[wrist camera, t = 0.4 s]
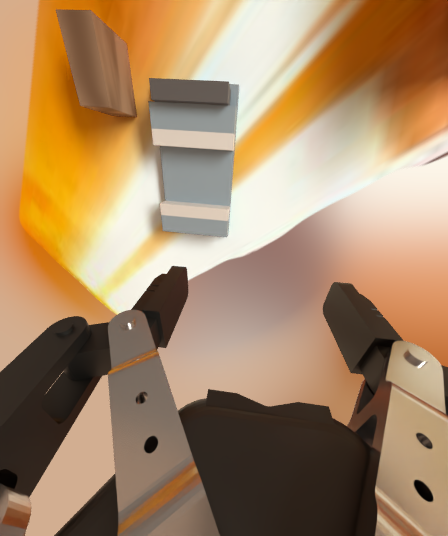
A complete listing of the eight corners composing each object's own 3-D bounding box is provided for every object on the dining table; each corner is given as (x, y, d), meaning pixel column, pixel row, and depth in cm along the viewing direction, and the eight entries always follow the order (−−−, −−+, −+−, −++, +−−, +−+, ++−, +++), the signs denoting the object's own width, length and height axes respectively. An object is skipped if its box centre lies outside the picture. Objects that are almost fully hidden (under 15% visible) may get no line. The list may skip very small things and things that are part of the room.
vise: (158, 84, 28) (145, 74, 24) (239, 88, 27) (237, 77, 24) (170, 228, 39) (163, 234, 36) (228, 233, 38) (226, 241, 35)
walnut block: (113, 115, 30) (80, 105, 24) (99, 43, 26) (55, 9, 20) (137, 117, 30) (109, 107, 24) (126, 44, 26) (90, 10, 20)
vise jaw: (153, 87, 27) (141, 77, 24) (238, 91, 26) (236, 82, 23) (159, 145, 30) (149, 144, 27) (233, 150, 29) (232, 150, 26)
